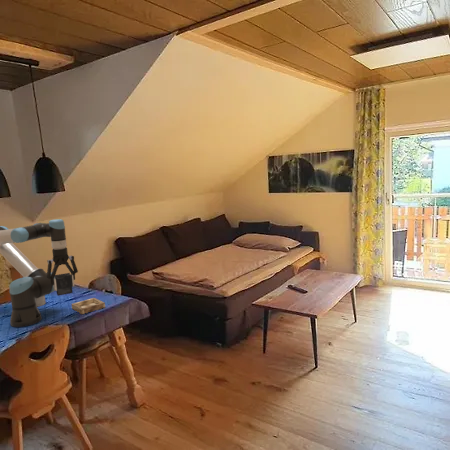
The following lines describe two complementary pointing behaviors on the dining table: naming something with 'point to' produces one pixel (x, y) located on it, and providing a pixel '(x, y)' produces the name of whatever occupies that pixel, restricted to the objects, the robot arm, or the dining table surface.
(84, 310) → the socket tray
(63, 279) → the box
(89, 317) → the dining table surface
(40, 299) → the engine component
